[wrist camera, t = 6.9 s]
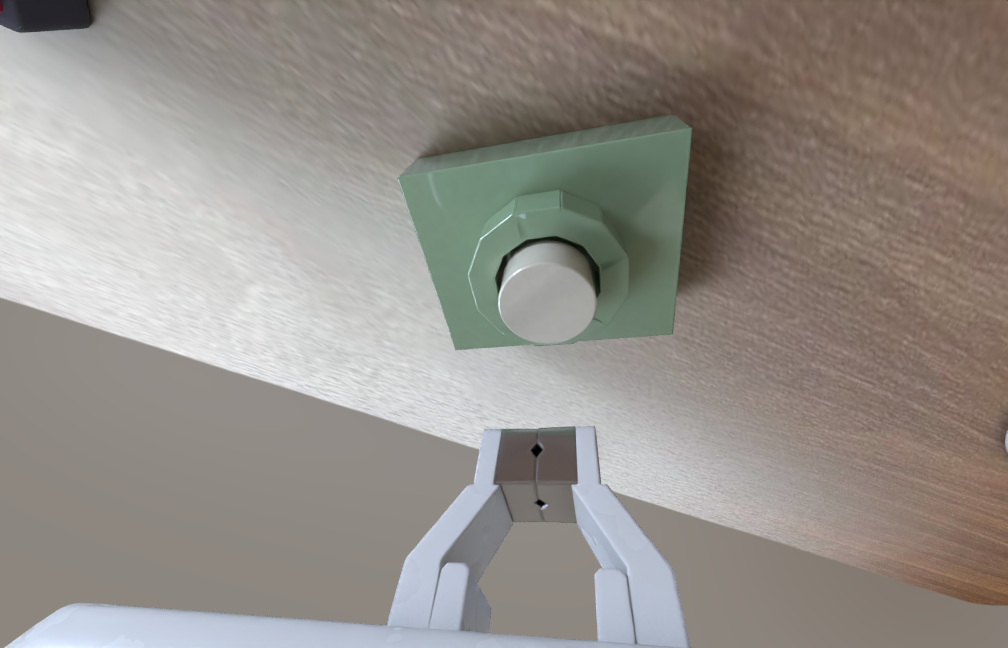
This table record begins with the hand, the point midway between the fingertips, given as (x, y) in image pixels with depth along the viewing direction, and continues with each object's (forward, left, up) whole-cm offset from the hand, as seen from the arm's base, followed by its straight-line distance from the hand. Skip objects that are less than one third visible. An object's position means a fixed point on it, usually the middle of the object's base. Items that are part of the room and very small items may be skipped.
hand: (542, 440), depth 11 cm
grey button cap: (0, 0, -8) cm, 8 cm away
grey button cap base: (0, 0, -13) cm, 13 cm away
